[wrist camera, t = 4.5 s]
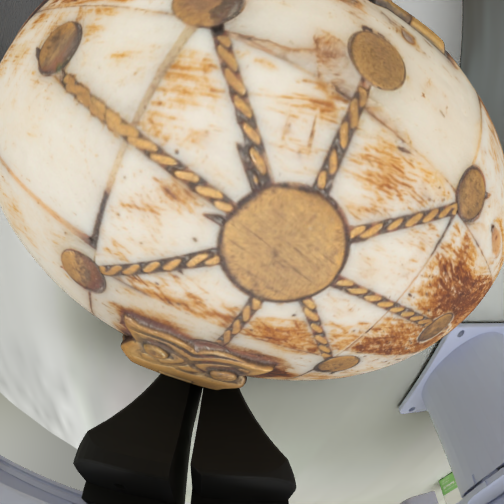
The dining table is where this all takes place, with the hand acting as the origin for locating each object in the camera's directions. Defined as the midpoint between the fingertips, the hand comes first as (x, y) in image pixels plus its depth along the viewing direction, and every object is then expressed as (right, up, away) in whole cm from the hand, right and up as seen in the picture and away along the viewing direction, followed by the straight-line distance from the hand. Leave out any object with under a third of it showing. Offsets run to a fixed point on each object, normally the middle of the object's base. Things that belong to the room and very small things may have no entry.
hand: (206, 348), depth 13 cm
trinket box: (+2, +8, -1) cm, 8 cm away
